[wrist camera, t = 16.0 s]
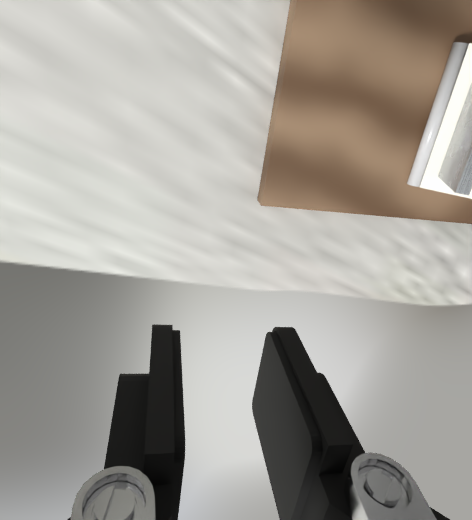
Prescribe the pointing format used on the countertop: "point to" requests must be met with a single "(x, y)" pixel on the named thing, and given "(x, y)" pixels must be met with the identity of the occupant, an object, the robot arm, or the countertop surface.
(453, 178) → the trowel
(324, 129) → the board
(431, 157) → the tile
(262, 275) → the countertop surface
